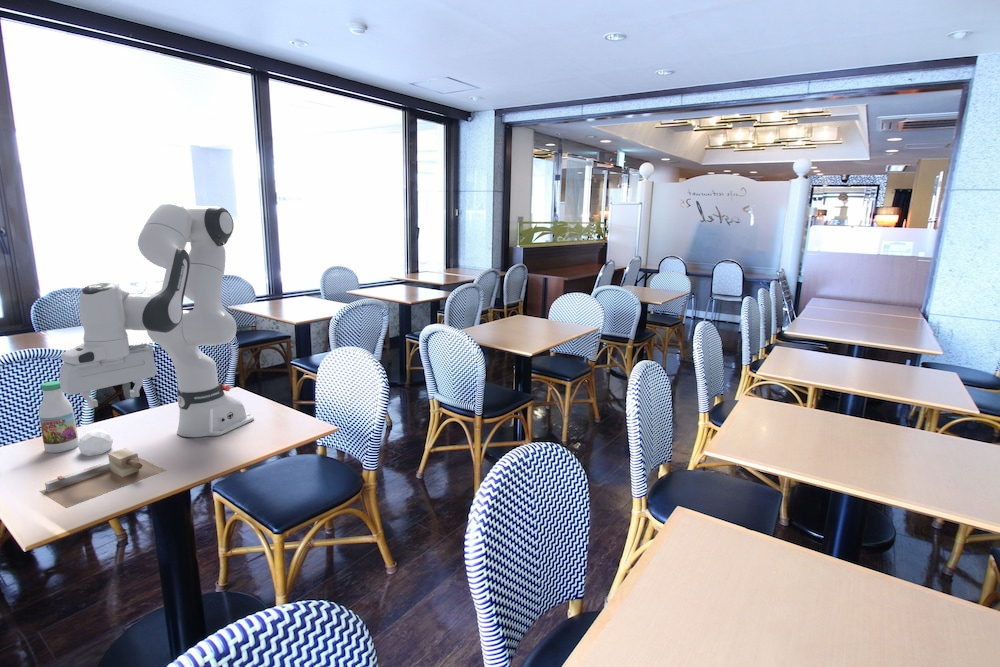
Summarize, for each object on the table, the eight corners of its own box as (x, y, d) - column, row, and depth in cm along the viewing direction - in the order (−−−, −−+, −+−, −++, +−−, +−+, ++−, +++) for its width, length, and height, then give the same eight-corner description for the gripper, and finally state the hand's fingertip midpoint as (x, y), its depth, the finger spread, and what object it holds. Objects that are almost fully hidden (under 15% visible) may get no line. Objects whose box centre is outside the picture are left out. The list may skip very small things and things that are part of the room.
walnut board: (138, 462, 146) (137, 449, 145) (166, 475, 139) (165, 462, 138) (40, 496, 127) (38, 482, 126) (67, 513, 120) (64, 498, 119)
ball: (102, 466, 148) (96, 452, 143) (74, 456, 148) (67, 442, 142) (121, 444, 154) (117, 430, 149) (94, 435, 153) (89, 420, 148)
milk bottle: (46, 446, 154) (35, 381, 150) (79, 440, 158) (69, 377, 154) (43, 456, 148) (31, 388, 144) (78, 449, 152) (67, 384, 148)
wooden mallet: (127, 465, 141) (124, 448, 140) (149, 475, 135) (147, 458, 134) (110, 471, 137) (107, 453, 136) (132, 482, 132) (130, 464, 131)
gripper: (145, 340, 141) (151, 389, 144) (52, 355, 123) (61, 410, 126) (158, 343, 138) (164, 393, 141) (64, 359, 120) (73, 416, 123)
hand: (114, 401), depth 133 cm, fingers open, 8 cm apart
